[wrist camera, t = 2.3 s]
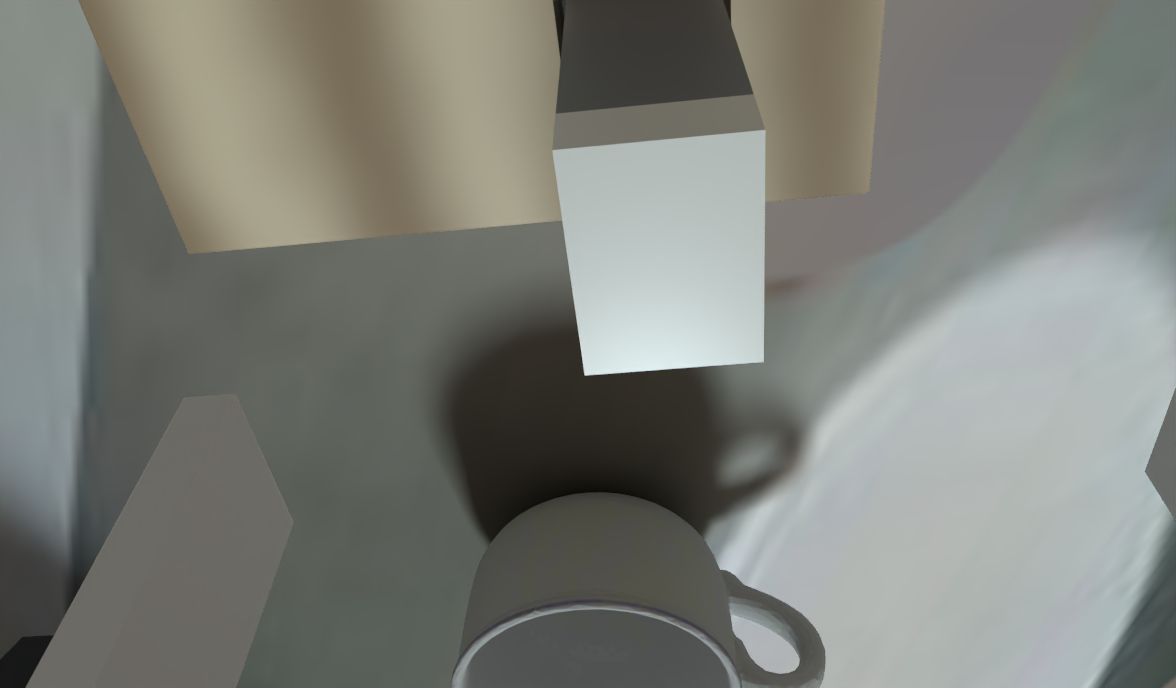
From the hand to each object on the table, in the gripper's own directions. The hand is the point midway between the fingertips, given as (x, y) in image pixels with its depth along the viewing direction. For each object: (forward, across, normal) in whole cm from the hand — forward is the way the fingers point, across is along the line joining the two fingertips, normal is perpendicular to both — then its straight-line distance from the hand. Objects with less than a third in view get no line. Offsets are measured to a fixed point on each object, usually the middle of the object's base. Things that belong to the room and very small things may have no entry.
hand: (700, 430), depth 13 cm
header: (+17, -4, 0) cm, 17 cm away
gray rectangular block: (+17, 0, 0) cm, 17 cm away
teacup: (+17, -2, -22) cm, 28 cm away
